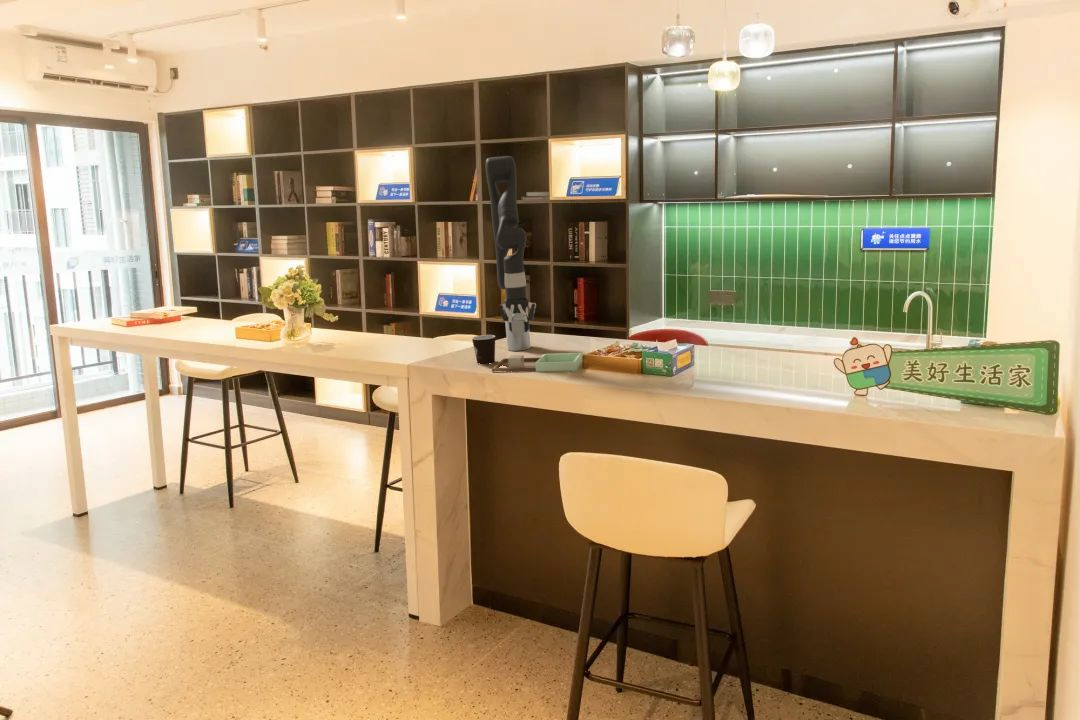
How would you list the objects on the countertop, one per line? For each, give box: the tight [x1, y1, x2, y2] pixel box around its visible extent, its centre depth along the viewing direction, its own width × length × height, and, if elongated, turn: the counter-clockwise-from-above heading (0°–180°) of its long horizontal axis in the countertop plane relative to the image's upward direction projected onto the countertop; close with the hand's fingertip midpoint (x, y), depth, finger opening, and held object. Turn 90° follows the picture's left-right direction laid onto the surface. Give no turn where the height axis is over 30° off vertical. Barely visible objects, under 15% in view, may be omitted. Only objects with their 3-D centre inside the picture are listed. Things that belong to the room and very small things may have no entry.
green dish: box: [535, 352, 583, 373], centre depth 291 cm, size 14×14×4 cm
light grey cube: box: [508, 354, 525, 368], centre depth 293 cm, size 4×4×4 cm
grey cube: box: [511, 319, 525, 334], centre depth 298 cm, size 4×4×4 cm
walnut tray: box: [491, 356, 541, 373], centre depth 297 cm, size 16×16×2 cm
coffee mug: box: [471, 334, 496, 365], centre depth 308 cm, size 12×9×10 cm
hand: (519, 331), depth 298 cm, fingers closed on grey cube, 4 cm apart
